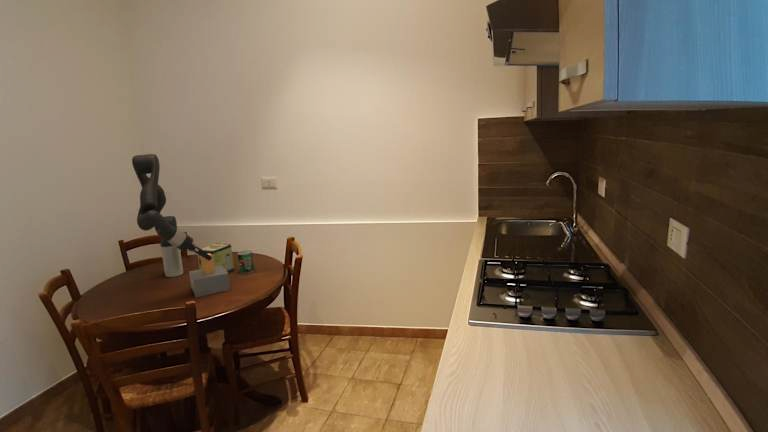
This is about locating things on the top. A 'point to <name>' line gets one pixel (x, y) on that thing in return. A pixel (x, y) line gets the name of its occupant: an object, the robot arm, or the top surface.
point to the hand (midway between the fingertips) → (207, 257)
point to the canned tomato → (245, 262)
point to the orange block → (207, 265)
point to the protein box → (220, 256)
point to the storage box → (209, 281)
